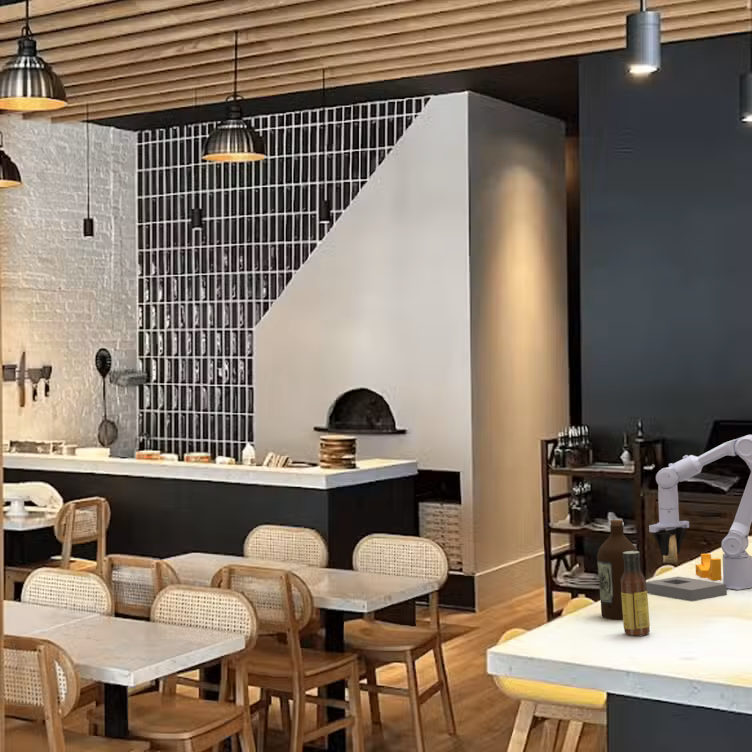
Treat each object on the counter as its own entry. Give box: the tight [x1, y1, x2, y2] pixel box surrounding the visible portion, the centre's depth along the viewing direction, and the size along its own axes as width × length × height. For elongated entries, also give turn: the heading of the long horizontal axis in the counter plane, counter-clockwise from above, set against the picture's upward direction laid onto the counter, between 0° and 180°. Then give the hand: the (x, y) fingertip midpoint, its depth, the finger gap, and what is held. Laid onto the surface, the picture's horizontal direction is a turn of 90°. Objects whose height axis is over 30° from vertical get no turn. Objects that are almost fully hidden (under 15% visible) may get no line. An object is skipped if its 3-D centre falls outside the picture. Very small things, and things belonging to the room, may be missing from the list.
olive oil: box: [596, 519, 638, 621], centre depth 324 cm, size 11×11×25 cm
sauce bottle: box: [621, 550, 651, 637], centre depth 302 cm, size 7×6×20 cm
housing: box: [646, 576, 728, 602], centre depth 353 cm, size 14×18×3 cm
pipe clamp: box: [695, 553, 722, 582], centre depth 378 cm, size 12×4×6 cm, turn 1°
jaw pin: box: [662, 534, 678, 564], centre depth 368 cm, size 4×4×8 cm
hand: (670, 554), depth 368 cm, fingers closed on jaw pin, 4 cm apart
